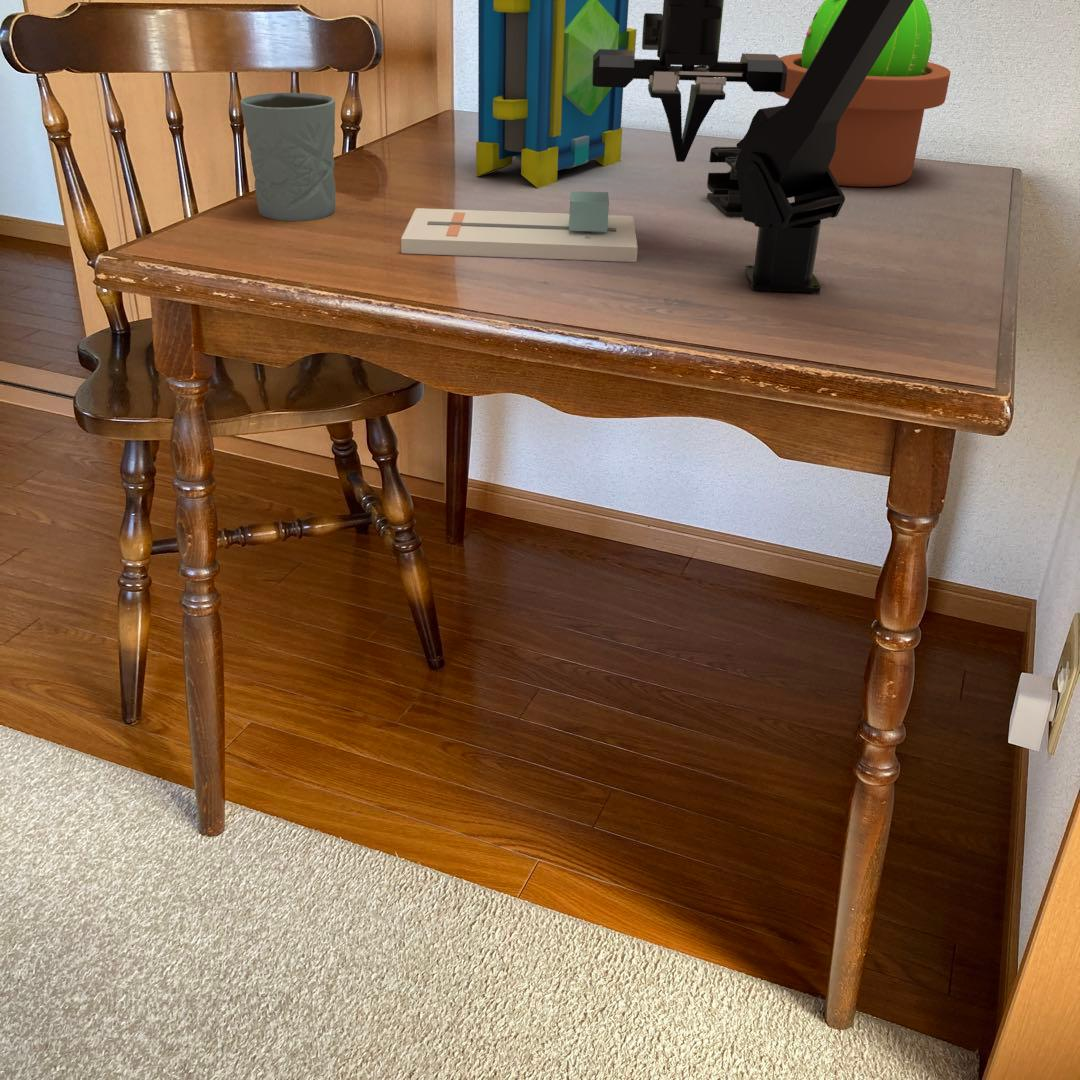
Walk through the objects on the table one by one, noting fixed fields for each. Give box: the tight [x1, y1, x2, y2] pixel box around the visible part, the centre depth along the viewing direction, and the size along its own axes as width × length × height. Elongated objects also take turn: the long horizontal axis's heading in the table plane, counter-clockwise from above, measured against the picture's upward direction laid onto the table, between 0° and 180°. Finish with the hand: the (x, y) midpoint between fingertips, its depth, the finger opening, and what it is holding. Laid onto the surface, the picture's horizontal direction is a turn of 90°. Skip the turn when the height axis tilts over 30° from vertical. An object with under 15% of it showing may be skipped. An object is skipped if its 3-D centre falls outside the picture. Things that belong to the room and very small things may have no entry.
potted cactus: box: [773, 0, 951, 188], centre depth 146 cm, size 22×22×25 cm
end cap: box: [706, 146, 743, 218], centre depth 134 cm, size 10×7×7 cm
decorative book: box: [475, 0, 637, 189], centre depth 142 cm, size 14×23×30 cm, turn 146°
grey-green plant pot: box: [240, 92, 336, 222], centre depth 125 cm, size 10×10×12 cm
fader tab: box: [569, 190, 610, 232], centre depth 119 cm, size 4×4×3 cm
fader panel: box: [400, 207, 639, 263], centre depth 120 cm, size 12×24×2 cm, turn 88°
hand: (680, 161), depth 116 cm, fingers closed
